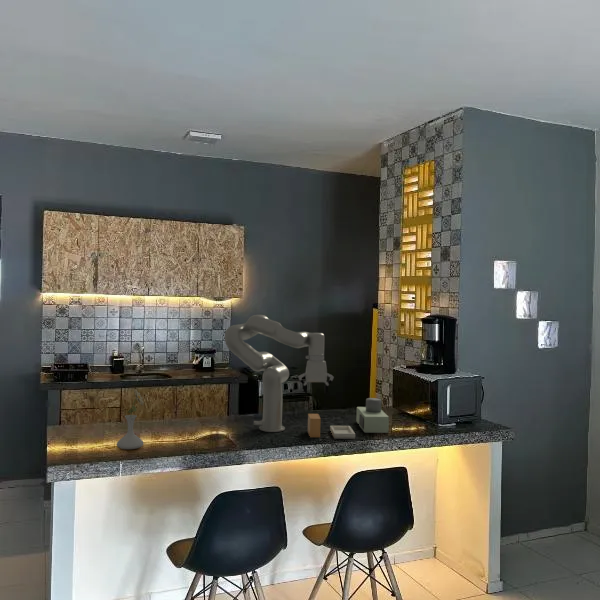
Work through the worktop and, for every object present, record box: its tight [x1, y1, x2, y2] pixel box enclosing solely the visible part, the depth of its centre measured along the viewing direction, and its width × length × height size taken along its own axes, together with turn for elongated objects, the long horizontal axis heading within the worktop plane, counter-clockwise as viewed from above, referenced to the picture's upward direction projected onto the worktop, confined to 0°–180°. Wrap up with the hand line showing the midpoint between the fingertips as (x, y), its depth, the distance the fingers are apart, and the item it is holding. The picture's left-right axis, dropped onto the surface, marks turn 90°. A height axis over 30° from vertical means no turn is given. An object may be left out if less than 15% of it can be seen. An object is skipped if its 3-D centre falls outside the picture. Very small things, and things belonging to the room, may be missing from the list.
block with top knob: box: [356, 397, 390, 434], centre depth 313 cm, size 13×24×14 cm, turn 5°
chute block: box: [307, 413, 322, 438], centre depth 294 cm, size 5×11×9 cm, turn 5°
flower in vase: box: [116, 388, 145, 450], centre depth 260 cm, size 13×11×25 cm
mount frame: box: [329, 425, 356, 440], centre depth 295 cm, size 10×16×2 cm, turn 4°
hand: (315, 393), depth 293 cm, fingers open, 9 cm apart
